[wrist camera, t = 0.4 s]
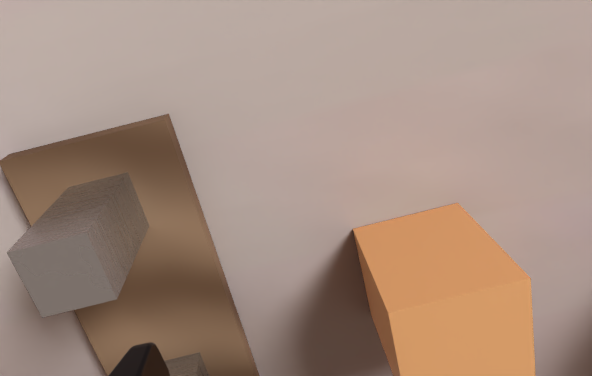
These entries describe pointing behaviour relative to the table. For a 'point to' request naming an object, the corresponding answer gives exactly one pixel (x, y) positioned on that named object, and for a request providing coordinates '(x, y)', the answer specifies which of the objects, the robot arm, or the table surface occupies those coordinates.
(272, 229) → the table surface
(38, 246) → the near post
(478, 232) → the orange block
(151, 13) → the table surface
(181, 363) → the far post
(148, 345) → the robot arm
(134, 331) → the board
